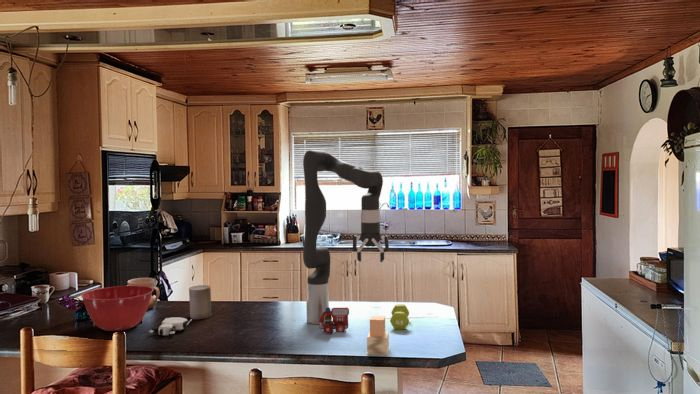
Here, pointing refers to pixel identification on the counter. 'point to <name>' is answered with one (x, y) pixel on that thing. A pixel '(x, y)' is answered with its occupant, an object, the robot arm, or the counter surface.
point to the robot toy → (171, 325)
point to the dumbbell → (399, 317)
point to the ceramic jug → (148, 283)
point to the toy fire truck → (334, 320)
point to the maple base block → (378, 344)
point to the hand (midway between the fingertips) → (370, 261)
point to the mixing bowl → (117, 306)
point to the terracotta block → (377, 326)
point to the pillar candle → (200, 302)
